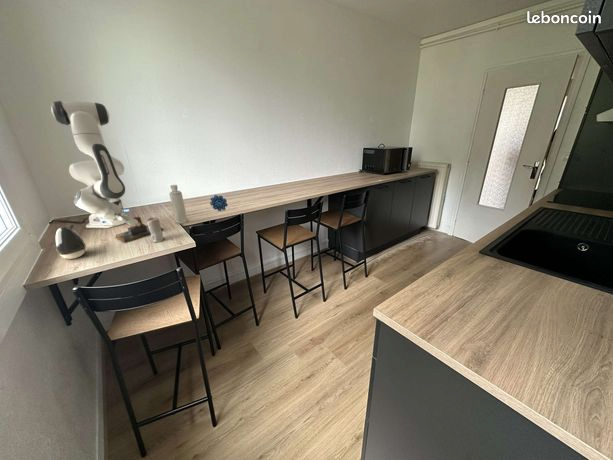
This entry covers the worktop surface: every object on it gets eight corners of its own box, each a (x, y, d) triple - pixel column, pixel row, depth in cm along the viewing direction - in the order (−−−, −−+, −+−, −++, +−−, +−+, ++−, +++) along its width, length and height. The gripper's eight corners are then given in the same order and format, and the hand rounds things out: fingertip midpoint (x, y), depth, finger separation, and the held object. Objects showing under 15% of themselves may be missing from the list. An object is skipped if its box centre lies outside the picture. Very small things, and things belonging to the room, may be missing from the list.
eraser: (131, 234, 138) (127, 221, 135) (129, 233, 140) (124, 219, 137) (147, 230, 144) (143, 217, 141) (144, 228, 146) (140, 215, 143)
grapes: (213, 214, 171) (210, 197, 167) (210, 211, 177) (207, 195, 172) (230, 211, 177) (227, 194, 172) (227, 208, 182) (224, 192, 177)
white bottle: (175, 223, 156) (165, 184, 146) (177, 220, 162) (168, 181, 152) (186, 223, 157) (177, 183, 147) (188, 219, 163) (180, 181, 153)
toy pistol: (124, 242, 133) (123, 240, 132) (116, 237, 139) (115, 234, 139) (163, 230, 147) (162, 228, 146) (153, 226, 154) (153, 223, 153)
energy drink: (161, 237, 138) (155, 216, 133) (165, 239, 135) (160, 219, 130) (151, 240, 134) (144, 219, 130) (155, 243, 131) (149, 222, 127)
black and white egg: (94, 250, 125) (82, 222, 119) (77, 261, 115) (64, 231, 109) (73, 251, 125) (61, 222, 119) (55, 262, 115) (40, 231, 109)
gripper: (123, 210, 125) (149, 223, 136) (108, 203, 136) (133, 215, 147) (115, 221, 124) (142, 233, 135) (101, 213, 135) (127, 225, 146)
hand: (137, 224), depth 141 cm, fingers closed on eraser, 3 cm apart
